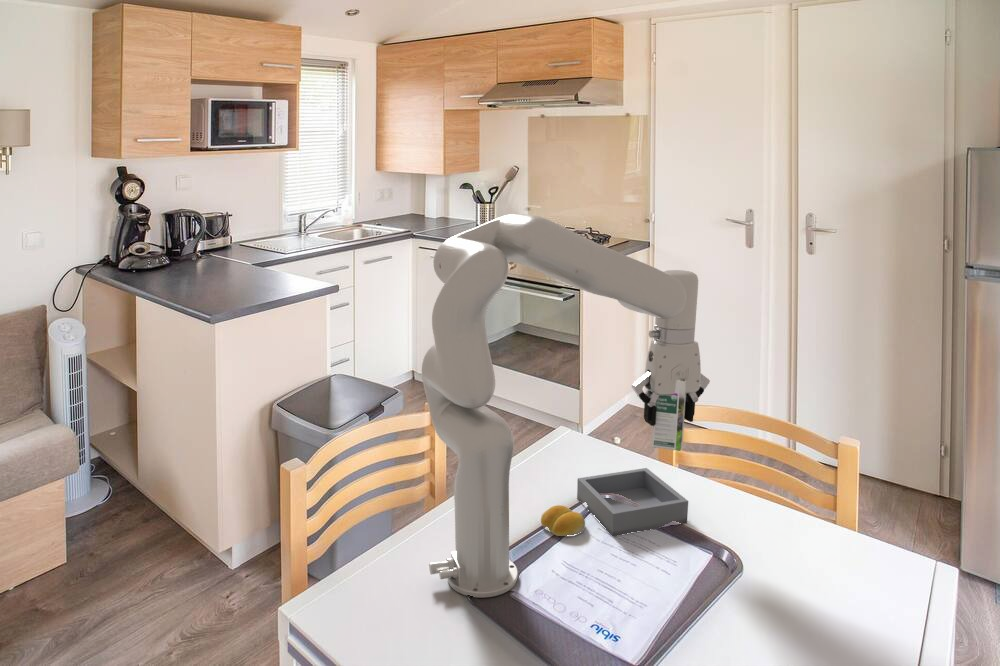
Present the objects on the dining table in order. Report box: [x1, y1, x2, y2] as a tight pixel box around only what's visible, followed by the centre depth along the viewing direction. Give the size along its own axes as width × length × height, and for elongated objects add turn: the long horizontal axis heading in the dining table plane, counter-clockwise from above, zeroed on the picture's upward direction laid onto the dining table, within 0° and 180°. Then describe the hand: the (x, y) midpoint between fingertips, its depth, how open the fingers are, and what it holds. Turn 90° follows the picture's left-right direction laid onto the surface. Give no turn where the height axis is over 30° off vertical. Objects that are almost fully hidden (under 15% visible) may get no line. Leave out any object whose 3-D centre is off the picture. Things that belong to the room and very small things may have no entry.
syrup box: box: [651, 379, 686, 452], centre depth 140 cm, size 6×6×14 cm
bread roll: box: [540, 504, 586, 537], centre depth 144 cm, size 8×9×4 cm
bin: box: [576, 467, 689, 537], centre depth 151 cm, size 17×17×5 cm
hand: (668, 421), depth 141 cm, fingers closed on syrup box, 7 cm apart
